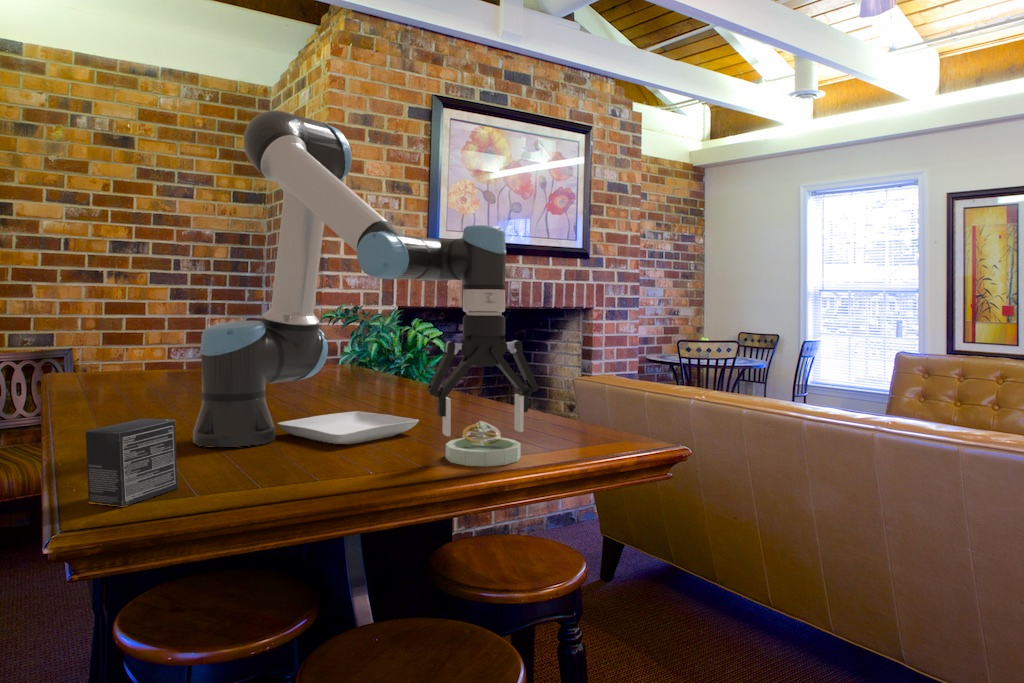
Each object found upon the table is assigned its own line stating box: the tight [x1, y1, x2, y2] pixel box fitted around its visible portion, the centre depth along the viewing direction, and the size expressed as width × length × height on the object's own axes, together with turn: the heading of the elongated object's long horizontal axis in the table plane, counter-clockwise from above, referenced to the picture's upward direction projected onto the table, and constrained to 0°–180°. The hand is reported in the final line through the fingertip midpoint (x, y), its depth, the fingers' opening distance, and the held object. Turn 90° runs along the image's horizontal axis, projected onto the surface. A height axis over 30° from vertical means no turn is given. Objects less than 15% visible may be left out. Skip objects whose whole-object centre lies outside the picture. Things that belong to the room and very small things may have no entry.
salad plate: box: [276, 410, 419, 446], centre depth 150 cm, size 21×21×3 cm
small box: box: [85, 418, 179, 506], centre depth 103 cm, size 11×6×10 cm, turn 163°
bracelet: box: [462, 420, 502, 446], centre depth 134 cm, size 7×3×8 cm
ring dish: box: [445, 436, 522, 467], centre depth 130 cm, size 13×13×2 cm
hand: (483, 432), depth 130 cm, fingers open, 13 cm apart
